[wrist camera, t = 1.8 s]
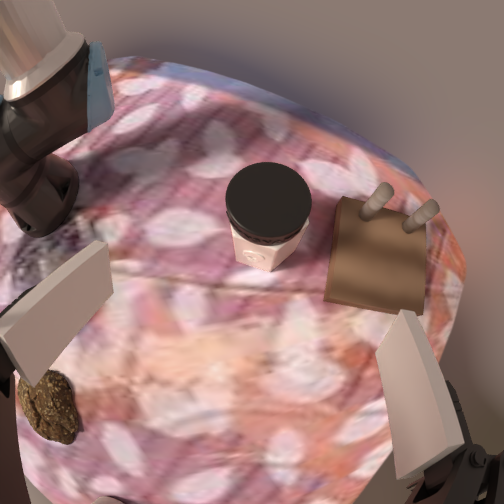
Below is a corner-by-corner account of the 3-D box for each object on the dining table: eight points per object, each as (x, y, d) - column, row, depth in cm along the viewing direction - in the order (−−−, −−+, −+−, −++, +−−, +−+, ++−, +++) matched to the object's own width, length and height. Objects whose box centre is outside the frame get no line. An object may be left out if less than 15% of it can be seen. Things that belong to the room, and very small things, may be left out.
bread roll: (20, 370, 29) (1, 370, 24) (67, 367, 30) (47, 368, 26) (40, 439, 26) (23, 445, 21) (91, 445, 27) (74, 455, 22)
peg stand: (411, 317, 33) (455, 308, 24) (323, 300, 34) (351, 286, 24) (415, 228, 37) (451, 200, 28) (336, 205, 38) (360, 167, 28)
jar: (219, 257, 35) (206, 219, 24) (241, 204, 38) (238, 151, 26) (285, 279, 35) (304, 251, 23) (302, 224, 37) (324, 177, 26)
